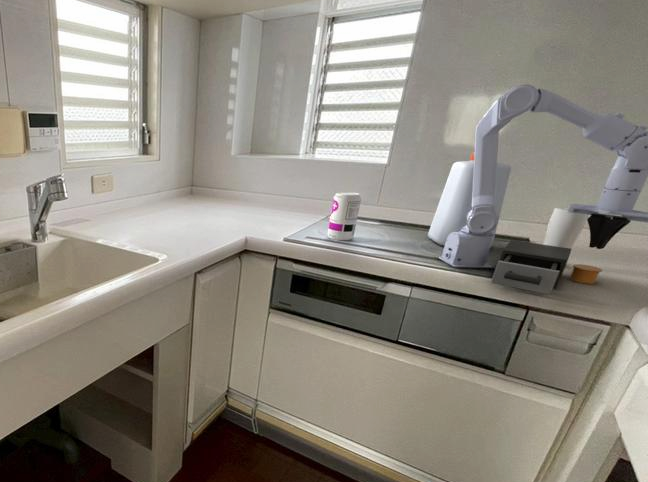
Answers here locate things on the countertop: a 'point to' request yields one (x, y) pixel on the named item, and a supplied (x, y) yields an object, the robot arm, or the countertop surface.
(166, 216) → the countertop surface
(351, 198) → the supplement can
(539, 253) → the black drawer unit
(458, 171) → the plastic bottle
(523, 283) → the pod drawer
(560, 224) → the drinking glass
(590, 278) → the cylinder
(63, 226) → the countertop surface
